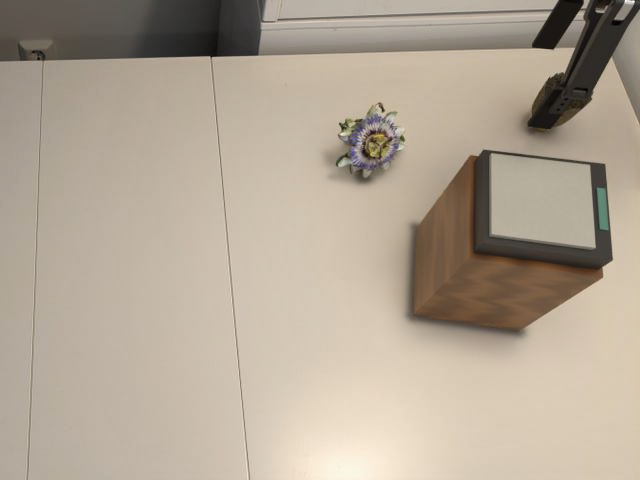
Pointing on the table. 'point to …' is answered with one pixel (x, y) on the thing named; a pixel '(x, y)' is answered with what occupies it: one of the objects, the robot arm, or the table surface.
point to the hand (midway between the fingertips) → (540, 85)
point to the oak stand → (482, 270)
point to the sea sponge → (569, 112)
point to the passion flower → (371, 141)
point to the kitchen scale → (541, 209)
